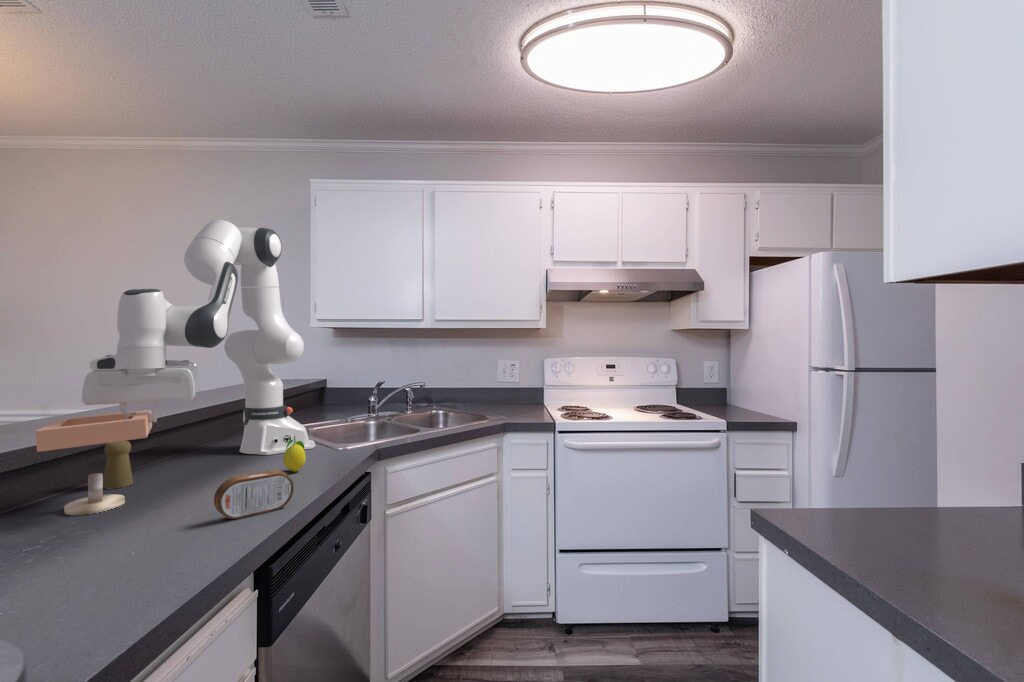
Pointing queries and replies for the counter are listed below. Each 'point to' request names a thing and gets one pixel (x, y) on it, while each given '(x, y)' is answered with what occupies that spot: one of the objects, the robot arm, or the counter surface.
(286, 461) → the lemon
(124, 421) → the pink square frame
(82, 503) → the mushroom
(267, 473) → the tin
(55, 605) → the counter surface
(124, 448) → the cork
